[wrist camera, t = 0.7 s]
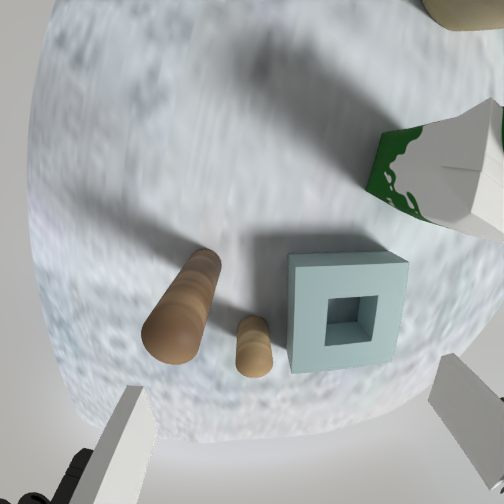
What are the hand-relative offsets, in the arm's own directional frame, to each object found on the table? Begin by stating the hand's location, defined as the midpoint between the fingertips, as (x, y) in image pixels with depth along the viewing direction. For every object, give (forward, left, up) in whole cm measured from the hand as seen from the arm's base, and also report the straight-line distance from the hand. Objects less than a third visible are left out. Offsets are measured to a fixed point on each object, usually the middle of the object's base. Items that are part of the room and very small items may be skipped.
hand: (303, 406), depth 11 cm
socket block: (+5, +8, -22) cm, 24 cm away
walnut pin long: (0, -7, -22) cm, 23 cm away
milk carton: (-10, +15, -22) cm, 28 cm away
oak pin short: (+8, -2, -22) cm, 23 cm away
